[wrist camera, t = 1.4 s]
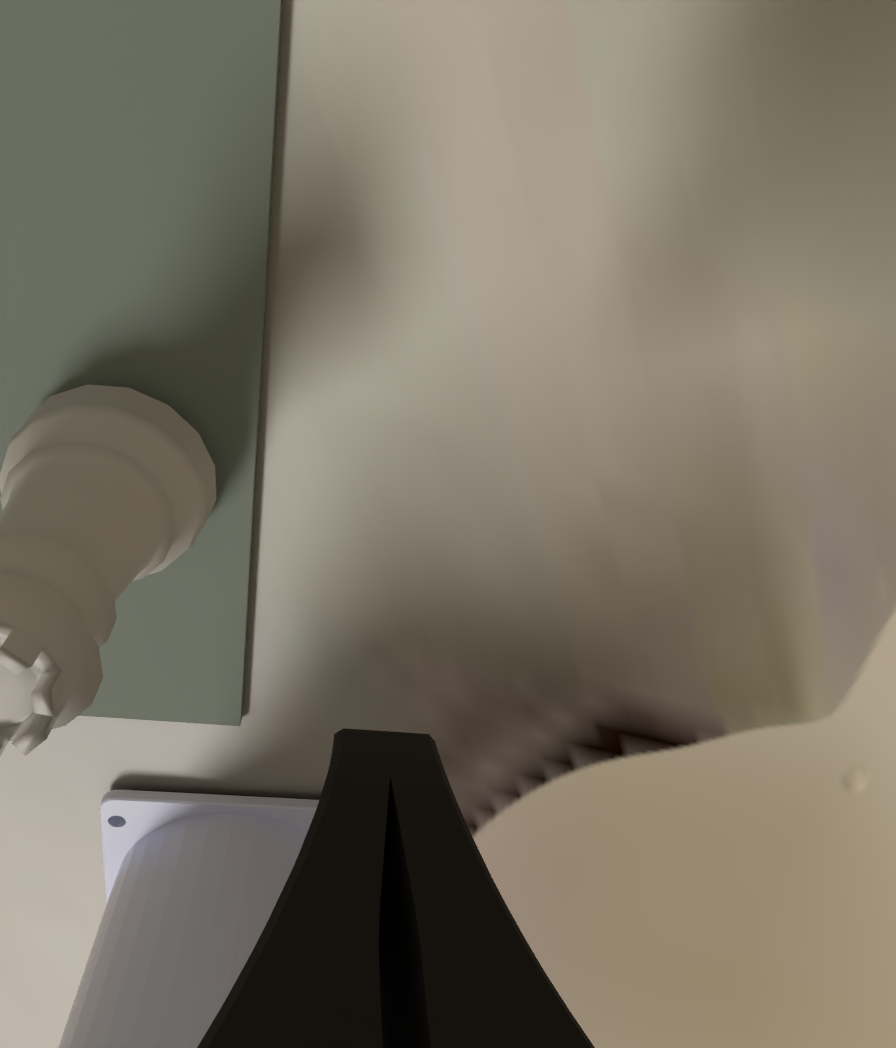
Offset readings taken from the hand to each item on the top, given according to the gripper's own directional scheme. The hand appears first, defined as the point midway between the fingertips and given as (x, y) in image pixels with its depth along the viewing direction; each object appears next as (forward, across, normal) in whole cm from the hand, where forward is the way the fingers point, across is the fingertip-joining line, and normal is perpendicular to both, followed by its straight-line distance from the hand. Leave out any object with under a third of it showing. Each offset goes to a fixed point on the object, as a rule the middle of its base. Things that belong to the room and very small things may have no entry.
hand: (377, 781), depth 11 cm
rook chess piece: (+9, +6, 0) cm, 11 cm away
